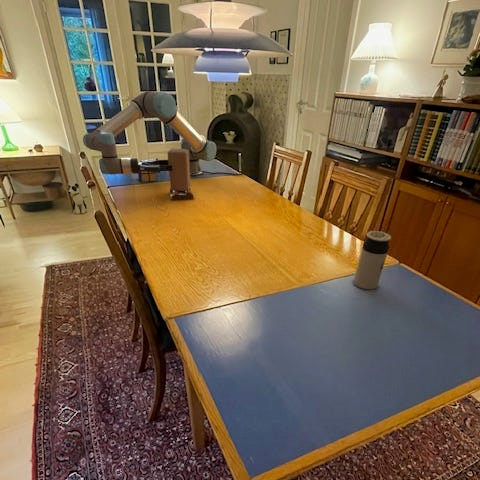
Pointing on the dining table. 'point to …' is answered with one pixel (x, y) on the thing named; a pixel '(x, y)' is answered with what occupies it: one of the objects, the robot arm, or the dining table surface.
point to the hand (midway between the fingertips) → (171, 165)
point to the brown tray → (181, 195)
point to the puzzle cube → (147, 176)
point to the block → (179, 169)
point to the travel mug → (372, 259)
